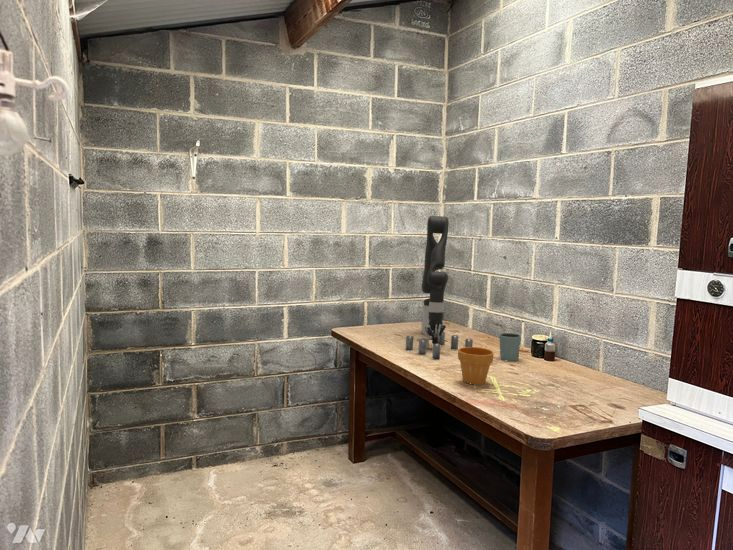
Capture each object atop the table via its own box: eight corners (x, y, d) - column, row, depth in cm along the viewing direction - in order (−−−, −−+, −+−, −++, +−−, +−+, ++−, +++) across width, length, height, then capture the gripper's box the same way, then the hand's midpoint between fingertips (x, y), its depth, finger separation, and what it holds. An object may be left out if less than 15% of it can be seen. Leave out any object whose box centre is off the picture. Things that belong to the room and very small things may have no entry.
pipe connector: (436, 346, 277) (434, 327, 277) (438, 348, 267) (436, 328, 267) (417, 347, 277) (415, 328, 277) (418, 350, 267) (417, 330, 267)
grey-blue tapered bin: (523, 361, 252) (525, 336, 250) (505, 362, 248) (506, 337, 247) (511, 356, 261) (513, 332, 260) (493, 357, 258) (495, 333, 257)
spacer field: (404, 349, 268) (404, 335, 268) (441, 344, 283) (441, 331, 282) (435, 359, 249) (436, 345, 248) (473, 353, 264) (474, 339, 263)
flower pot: (498, 382, 216) (499, 351, 215) (481, 389, 206) (483, 357, 204) (467, 374, 225) (469, 345, 224) (450, 381, 215) (451, 350, 213)
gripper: (440, 308, 274) (439, 341, 275) (421, 310, 266) (420, 344, 268) (450, 310, 268) (449, 344, 269) (431, 312, 260) (430, 347, 261)
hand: (434, 344), depth 268 cm, fingers closed
